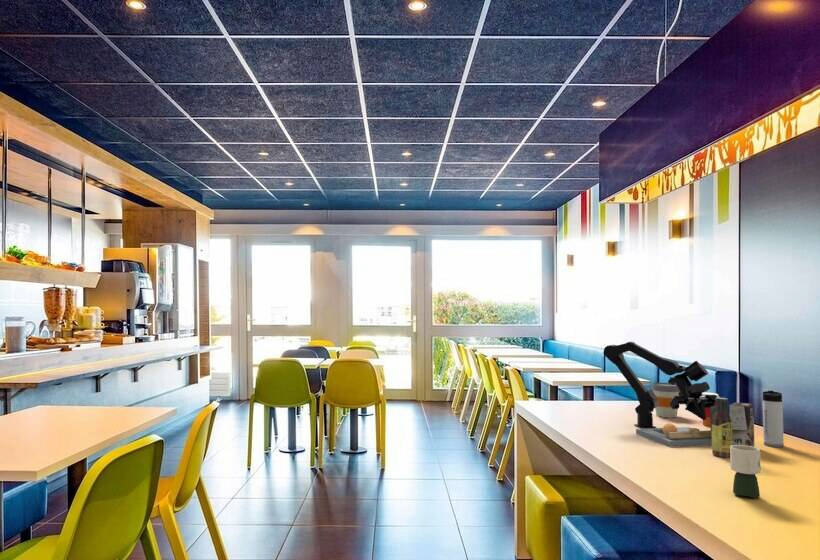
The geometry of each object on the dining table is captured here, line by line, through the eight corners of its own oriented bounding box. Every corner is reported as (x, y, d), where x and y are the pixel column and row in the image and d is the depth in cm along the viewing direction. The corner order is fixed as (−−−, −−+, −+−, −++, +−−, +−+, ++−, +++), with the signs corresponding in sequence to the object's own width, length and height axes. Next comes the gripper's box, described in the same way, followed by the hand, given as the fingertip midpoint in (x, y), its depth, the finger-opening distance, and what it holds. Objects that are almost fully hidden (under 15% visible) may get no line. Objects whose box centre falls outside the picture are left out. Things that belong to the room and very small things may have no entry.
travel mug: (781, 444, 209) (780, 391, 210) (785, 448, 203) (783, 393, 204) (762, 442, 212) (760, 389, 213) (765, 446, 206) (763, 392, 207)
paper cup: (715, 424, 246) (714, 392, 246) (723, 427, 238) (722, 395, 239) (697, 423, 246) (696, 392, 247) (704, 427, 239) (703, 394, 240)
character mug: (769, 503, 145) (767, 453, 146) (739, 501, 146) (737, 452, 147) (752, 490, 156) (751, 443, 156) (725, 488, 157) (724, 442, 158)
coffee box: (749, 452, 198) (748, 406, 198) (729, 449, 202) (728, 404, 203) (755, 447, 204) (754, 403, 205) (735, 444, 209) (734, 401, 209)
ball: (660, 435, 214) (659, 422, 214) (671, 435, 215) (671, 422, 215) (668, 438, 209) (668, 425, 210) (680, 438, 210) (679, 424, 210)
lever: (666, 436, 210) (665, 407, 210) (715, 434, 213) (714, 406, 214) (672, 439, 206) (671, 409, 207) (722, 437, 210) (721, 407, 210)
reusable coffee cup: (679, 419, 255) (678, 386, 256) (650, 416, 262) (649, 384, 263) (682, 415, 266) (682, 383, 267) (654, 412, 273) (654, 381, 273)
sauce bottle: (725, 459, 188) (723, 400, 189) (707, 454, 194) (706, 397, 195) (737, 456, 191) (735, 398, 192) (719, 452, 197) (718, 396, 198)
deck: (636, 433, 226) (636, 428, 226) (688, 431, 230) (688, 427, 230) (669, 446, 204) (669, 441, 205) (726, 444, 209) (726, 439, 209)
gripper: (673, 375, 222) (693, 408, 210) (714, 374, 225) (736, 406, 214) (661, 392, 229) (680, 424, 218) (701, 391, 232) (721, 423, 221)
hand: (704, 419), depth 217 cm, fingers closed
